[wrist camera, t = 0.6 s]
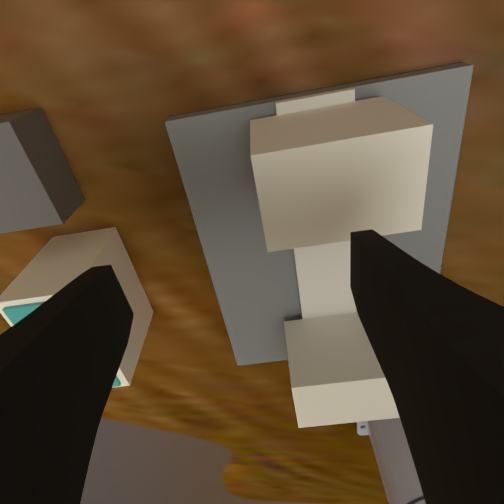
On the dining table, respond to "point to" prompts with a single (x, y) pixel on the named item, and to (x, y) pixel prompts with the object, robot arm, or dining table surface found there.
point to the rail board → (240, 211)
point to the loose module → (71, 266)
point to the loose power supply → (33, 174)
